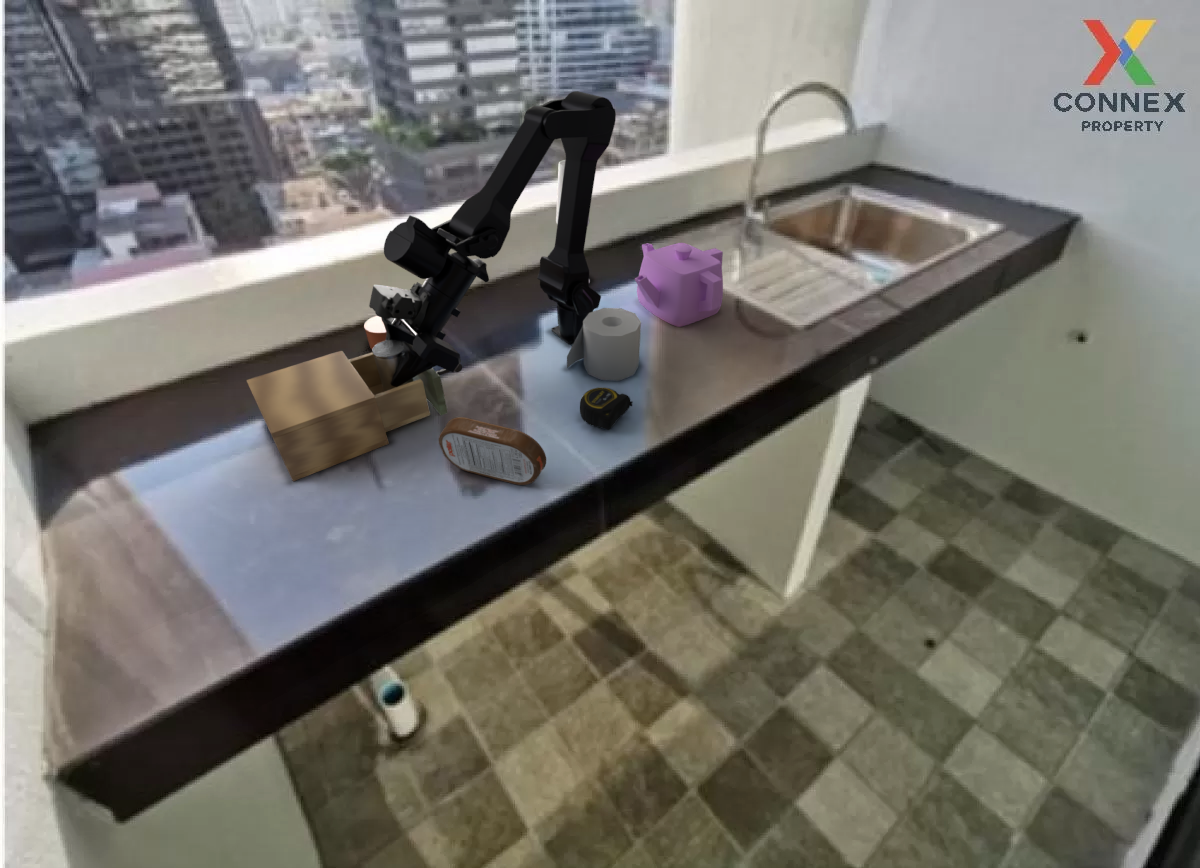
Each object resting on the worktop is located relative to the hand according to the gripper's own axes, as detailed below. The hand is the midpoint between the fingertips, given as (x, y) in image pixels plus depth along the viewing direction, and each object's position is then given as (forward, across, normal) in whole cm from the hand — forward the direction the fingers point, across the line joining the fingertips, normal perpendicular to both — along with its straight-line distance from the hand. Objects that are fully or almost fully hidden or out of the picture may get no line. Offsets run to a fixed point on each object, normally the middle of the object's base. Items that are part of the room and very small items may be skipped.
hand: (387, 378), depth 91 cm
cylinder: (+2, 0, +4) cm, 4 cm away
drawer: (+2, 0, +5) cm, 6 cm away
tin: (0, +22, +8) cm, 24 cm away
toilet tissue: (-19, +9, +28) cm, 35 cm away
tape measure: (-14, +21, +23) cm, 34 cm away
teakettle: (-36, 0, +45) cm, 58 cm away
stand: (0, -20, +9) cm, 22 cm away
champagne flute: (-29, -21, +38) cm, 53 cm away
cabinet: (+12, 0, -3) cm, 12 cm away
